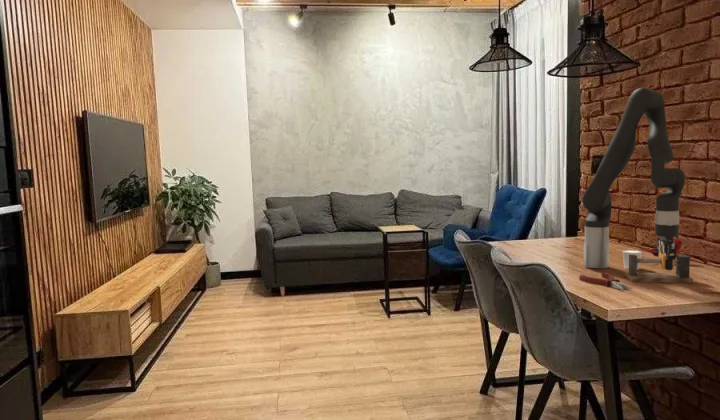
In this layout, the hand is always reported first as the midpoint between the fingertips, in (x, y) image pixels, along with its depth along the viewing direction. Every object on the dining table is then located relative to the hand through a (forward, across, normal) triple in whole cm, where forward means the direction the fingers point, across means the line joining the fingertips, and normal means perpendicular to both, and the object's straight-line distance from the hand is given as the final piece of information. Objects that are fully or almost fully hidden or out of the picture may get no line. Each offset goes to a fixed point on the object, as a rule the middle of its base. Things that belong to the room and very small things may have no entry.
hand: (666, 267), depth 180 cm
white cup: (+5, -19, -7) cm, 21 cm away
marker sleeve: (0, 0, 0) cm, 0 cm away
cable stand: (+4, 0, -3) cm, 5 cm away
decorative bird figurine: (+5, -31, +8) cm, 33 cm away
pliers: (+5, +8, -23) cm, 25 cm away
